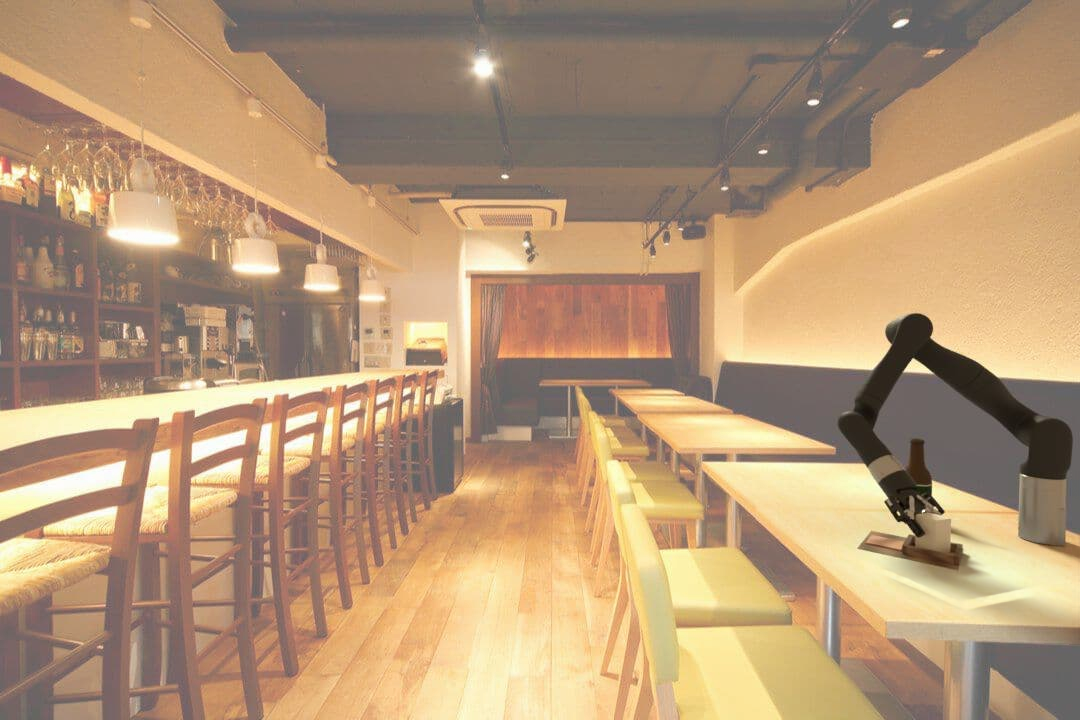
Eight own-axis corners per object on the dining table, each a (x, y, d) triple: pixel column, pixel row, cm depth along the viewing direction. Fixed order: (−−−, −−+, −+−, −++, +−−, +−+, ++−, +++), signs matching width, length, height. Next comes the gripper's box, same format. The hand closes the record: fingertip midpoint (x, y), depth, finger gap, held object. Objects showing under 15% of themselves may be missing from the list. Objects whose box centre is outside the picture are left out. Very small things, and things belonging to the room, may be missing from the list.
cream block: (929, 548, 137) (930, 512, 136) (950, 555, 132) (951, 518, 132) (915, 550, 135) (915, 514, 135) (935, 557, 130) (936, 520, 130)
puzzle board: (963, 553, 137) (963, 540, 136) (957, 575, 123) (958, 561, 123) (871, 535, 150) (871, 523, 150) (856, 553, 136) (857, 540, 136)
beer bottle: (930, 523, 160) (932, 442, 160) (899, 518, 165) (900, 439, 164) (931, 517, 166) (933, 438, 166) (901, 512, 171) (902, 436, 170)
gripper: (880, 470, 139) (924, 529, 128) (921, 467, 143) (966, 524, 133) (862, 486, 144) (902, 544, 133) (901, 482, 148) (943, 538, 138)
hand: (934, 534), depth 133 cm, fingers open, 8 cm apart
